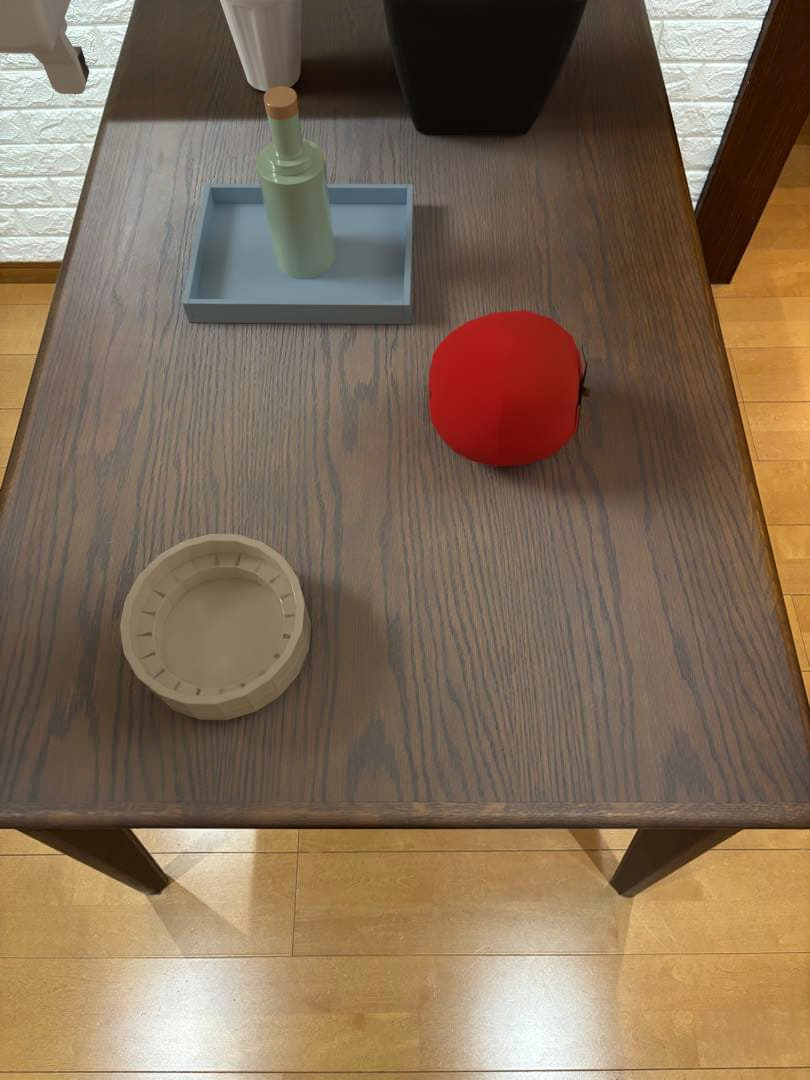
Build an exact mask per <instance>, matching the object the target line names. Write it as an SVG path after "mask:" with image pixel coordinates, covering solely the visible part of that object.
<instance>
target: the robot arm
mask: <svg viewBox="0 0 810 1080" xmlns="http://www.w3.org/2000/svg"><path fill="white" fill-rule="evenodd" d="M71 1H72V0H0V54H13V55H15V54H16V55H33V56H34V57H35V58H36V60H38V61H39V63H40V64H42V66H43V68H44V71H45V73H46V76H47V78H48V81H49V84H50V86H51V88H52V89H53V90H54V91H55V92H57V93H59V94H61V95H82V94H83V93H84V92H85V90H86V85H87V83H88V80H89V75H90V69H89V66H88V65H87V61H86V57H85V54H84V52H83V49H82V46H76V45H75V46H74V45H73V44H72V42H71V41H70V39H69V38H68V36H67V34H66V32H67V30H68V24H67V21H66V15H67V12H68V9H69V6H70V4H71Z"/></svg>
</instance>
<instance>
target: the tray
mask: <svg viewBox="0 0 810 1080" xmlns="http://www.w3.org/2000/svg"><path fill="white" fill-rule="evenodd" d="M328 191H329V199H330V208H331V216H332V225H333V233H334V242H335V251H336V259H335V262H334V264H333V266H332V267H331V268H330V269H329V270H328V271H327V272H326V273H324V274H322V275H320V276H318V277H315V278H310V279H297V278H293V277H290V276H288V275H286V274H284V273H283V272H282V271H281V270H280V269H279V268H278V266H277V264H276V260H275V255H274V250H273V245H272V241H271V236H270V231H269V226H268V221H267V216H266V211H265V206H264V201H263V196H262V191H261V187H260V183H223V182H222V183H221V182H220V183H217V182H215V183H214V182H213V183H208V182H207V183H205V184H204V189H203V194H202V198H201V199H202V200H201V204H200V210H199V213H198V214H199V215H198V219H197V225H196V230H195V235H194V240H193V245H192V252H191V256H190V259H189V260H190V262H189V267H188V272H187V277H186V281H185V286H184V287H185V288H184V291H183V297H182V300H181V301H182V303H181V305H182V307H183V310H184V314H185V316H186V318H187V321H188V323H192V324H193V323H195V324H196V323H199V324H202V323H205V324H207V323H208V324H209V323H210V324H314V325H315V324H317V325H319V324H320V325H321V324H327V325H328V324H329V325H334V324H335V325H337V324H338V325H411V314H412V312H411V311H412V310H411V307H412V276H413V275H412V273H413V271H412V269H413V234H414V184H413V183H328Z"/></svg>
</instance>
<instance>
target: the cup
mask: <svg viewBox="0 0 810 1080" xmlns="http://www.w3.org/2000/svg"><path fill="white" fill-rule="evenodd" d="M219 1H220V4H221V7H222V11H223V13H224V16H225V18H226V22H227V24H228V25H227V26H228V28H229V31H230V34H231V37H232V39H233V43H234V45H235V48H236V51H237V54H238V57H239V60H240V63H241V65H242V68H243V71H244V75H245V78H246V80H247V83H248V84H249V85H250V86H251V87H252V88H253V89H255V90H258V91H262V92H267V91H268V90H269V89H271V88H273V87H277V86H286V87H289V88H291V87H293V86H294V85H295V84H297V82H298V81H299V79H300V76H301V69H302V68H301V67H302V5H303V2H302V1H303V0H219Z"/></svg>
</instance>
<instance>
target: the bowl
mask: <svg viewBox="0 0 810 1080" xmlns="http://www.w3.org/2000/svg"><path fill="white" fill-rule="evenodd" d="M124 599H125V600H124V603H123V607H122V612H121V620H120V623H119V631H120V639H121V645H122V652H123V655H124V657H125V658H126V661H127V662H128V664H129V666H130V668H131V670H132V671H133V673H134V674H135V676H136V677H137V679H138V680H139V681H140V682H141V683H142V684H143V685H144V686H145V687H146V688H147V689H148V690H149V691H150V692H151V693H152V694H153V695H154V696H155V697H157V698H158V699H159V700H160V701H161V702H163V703H164V704H165V705H166V706H167V707H168V708H170V709H171V710H172V711H174V712H177V713H179V714H182V715H184V716H185V715H186V716H188V717H192V718H193V719H197V720H200V721H201V720H203V721H204V720H205V721H206V720H207V721H229V720H232V719H235V718H240V717H242V716H247V715H250V714H253V713H255V712H258V711H259V710H261V709H262V708H264V707H265V706H267V705H268V704H270V703H272V702H273V701H275V700H276V699H278V698H279V697H281V695H283V693H284V692H285V691H286V690H287V689H288V687H289V686H291V684H292V683H293V682H294V680H295V679H296V678H297V676H299V674H300V672H301V669H302V667H303V665H304V663H305V661H306V657H307V655H308V653H309V651H310V645H311V644H310V642H311V632H312V631H311V630H312V622H311V617H310V613H309V609H308V606H307V602H306V598H305V595H304V592H303V589H302V586H301V582H300V580H299V577H298V575H297V574H296V572H295V571H294V569H293V568H292V567H291V565H290V564H289V563H288V562H287V560H286V558H285V557H284V556H283V555H281V554H280V553H279V552H278V551H276V550H275V549H273V548H272V547H270V546H269V545H267V544H266V543H264V542H263V541H260V540H256V539H254V538H251V537H247V536H245V535H241V534H236V533H209V534H204V535H201V536H197V537H194V538H190V539H184V540H183V541H181V542H179V543H177V544H176V545H174V546H172V547H170V548H168V549H167V550H165V551H163V552H162V553H160V554H159V555H157V556H156V557H155V558H154V559H153V560H152V561H151V562H150V563H149V564H148V565H147V566H145V568H144V569H143V570H142V571H141V572H140V573H139V574H138V575H137V577H136V579H135V580H134V583H133V585H132V586H131V588H130V590H129V591H128V593H127V595H126V597H125V598H124Z"/></svg>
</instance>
